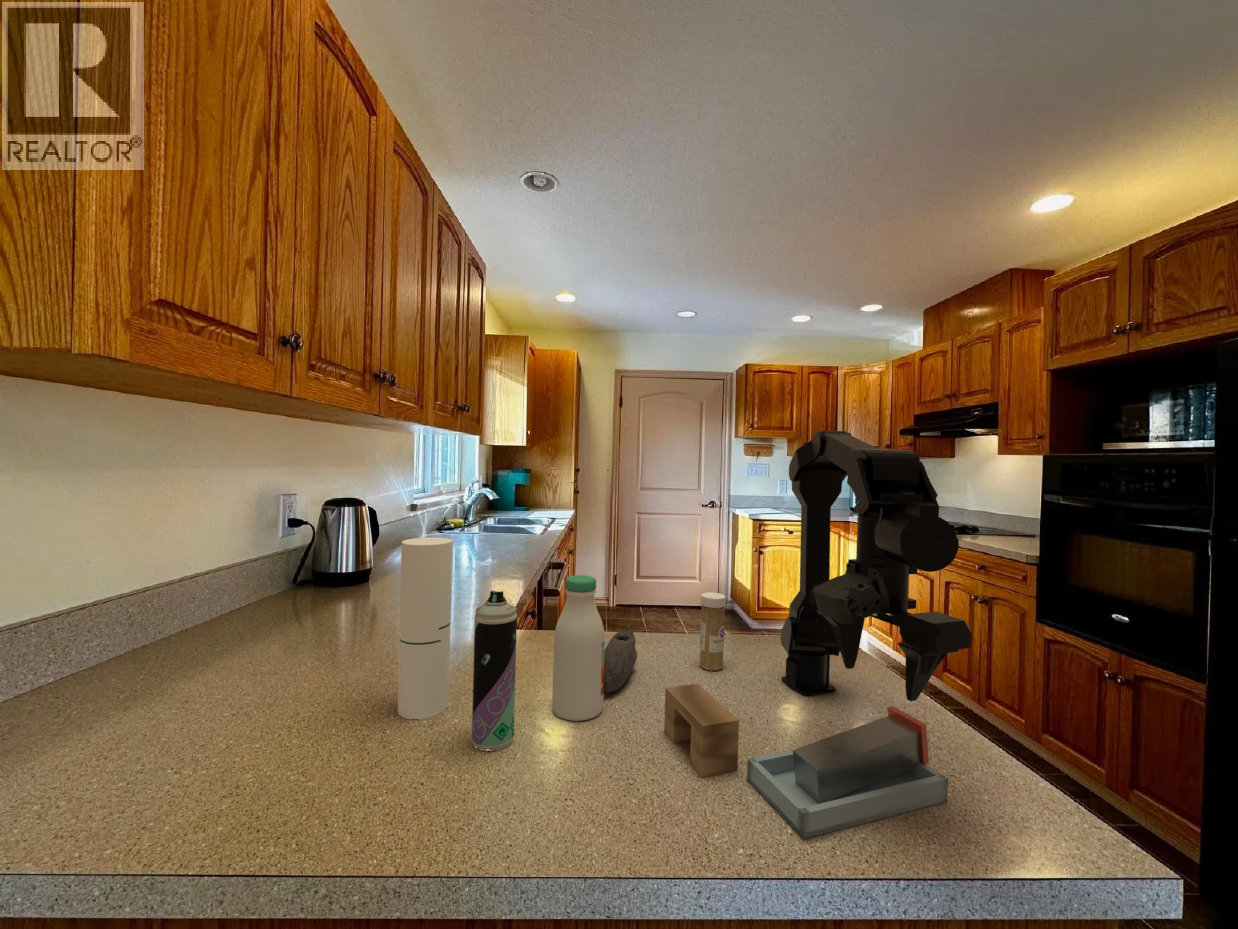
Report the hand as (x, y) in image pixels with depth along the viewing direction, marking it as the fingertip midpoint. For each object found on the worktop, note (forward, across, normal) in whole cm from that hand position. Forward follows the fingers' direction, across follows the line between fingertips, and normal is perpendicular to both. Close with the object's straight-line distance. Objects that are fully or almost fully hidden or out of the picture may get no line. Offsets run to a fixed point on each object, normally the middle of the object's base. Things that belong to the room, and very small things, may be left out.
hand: (878, 683), depth 62 cm
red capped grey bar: (+10, 0, -3) cm, 11 cm away
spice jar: (+12, -36, -2) cm, 38 cm away
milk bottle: (+12, -27, -30) cm, 42 cm away
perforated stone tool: (+12, -35, -21) cm, 43 cm away
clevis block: (+12, -12, -17) cm, 24 cm away
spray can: (+12, -22, -43) cm, 50 cm away
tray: (+12, 0, -5) cm, 13 cm away
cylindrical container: (+12, -34, -52) cm, 63 cm away
